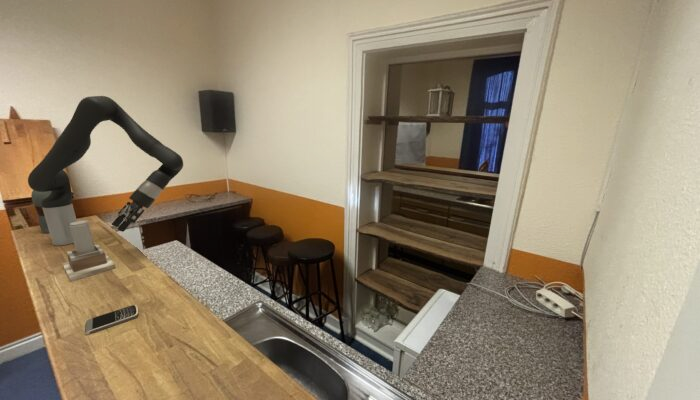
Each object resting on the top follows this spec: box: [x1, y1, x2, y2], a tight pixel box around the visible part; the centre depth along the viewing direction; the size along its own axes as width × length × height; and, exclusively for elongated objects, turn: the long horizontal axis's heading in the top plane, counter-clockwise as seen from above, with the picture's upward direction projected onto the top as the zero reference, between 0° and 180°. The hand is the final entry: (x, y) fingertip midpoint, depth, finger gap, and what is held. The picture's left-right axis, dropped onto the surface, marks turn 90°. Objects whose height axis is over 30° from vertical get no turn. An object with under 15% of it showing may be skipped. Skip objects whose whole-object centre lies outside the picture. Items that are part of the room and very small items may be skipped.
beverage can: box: [70, 220, 95, 255], centre depth 100 cm, size 5×5×12 cm
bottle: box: [30, 189, 51, 234], centre depth 136 cm, size 9×9×30 cm
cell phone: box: [84, 304, 139, 336], centre depth 74 cm, size 6×11×1 cm, turn 131°
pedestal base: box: [62, 243, 116, 282], centre depth 102 cm, size 16×12×7 cm
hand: (117, 228), depth 107 cm, fingers open, 8 cm apart
